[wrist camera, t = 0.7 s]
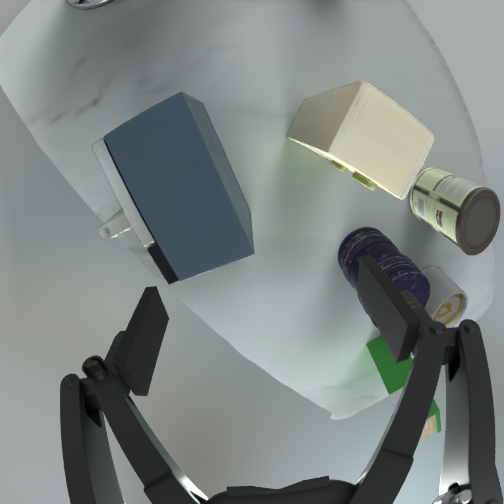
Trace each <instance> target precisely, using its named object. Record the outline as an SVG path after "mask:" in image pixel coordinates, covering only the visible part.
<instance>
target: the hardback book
mask: <svg viewBox="0 0 504 504" xmlns="http://www.w3.org/2000/svg"><path fill="white" fill-rule="evenodd" d="M367 346H368V349H369V351H370V353H371V355H372V357H373V359H374V362H375V364H376V366H377V368H378V371H379V373H380V375H381V377H382V380H383V382H384V384H385V386H386V389H387V391H388V393H389V396H390V398H391V400H392V403H393V405H394V408H396V405H397V403H398V400H399V398H400V395H401V393H402V390H403V387H404V385H405V382H406V379H407V376H408V374H409V371H410V366H411V364H412V361H413V359H412V357H411V356H409V359H407V360H404V361H401V362H398V363H396V361H395V359H394V358H393V356H392V354H391V352H390V350H389V348H388V346H387V344H386V342H385V340H384V339H383V337H382V335H381V336H379V337H378V338H376V339H374V340H373V341H371V342H369V343H368V344H367ZM436 430H437V432H440V431H441V423H440V411H439V408H438V406H437V405H436V403H435V400H434V398H433V401H432V404H431V408H430V411H429V414H428V417H427V420H426V423H425V426H424V429H423V431H422V434H421V437H420V439H422V438H424V437H426V436H428V435H429V434H431V433H433V432H434V431H436ZM420 439H419V440H420Z"/></svg>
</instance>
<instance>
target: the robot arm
mask: <svg viewBox="0 0 504 504" xmlns="http://www.w3.org/2000/svg"><path fill="white" fill-rule="evenodd" d="M112 1H113V0H67V2H68V3H69V4H70V5H72V6H74V7H76V8H79V9H93V8H97V7H100V6H103V5H105V4H108V3H110V2H112ZM357 292H358V294H359V296H360V297H361V299H362V301H363V303H364V304H365V306H366V308H367V310H368V311H369V313H370V315H371V317H372V318H373V320H374V322H375V324H376V326H377V327H378V329H379V331H380V333H381V335H382V337H383V339H384V340H385V342H386V344H387V346H388V348H389V350H390V352H391V354H392V356H393V358H394V359H395V361H396V363H398V362H401V361H404V360H407V359H409V356H410V353H411V352H412V354H413V356H414V359H413V361H412V364H411V366H410V371H409V374H408V376H407V379H406V382H405V385H404V387H403V390H402V393H401V395H400V398H399V400H398V403H397V405H396V408H395V410H394V412H393V415H392V417H391V420H390V421H389V424H388V426H387V428H386V430H385V432H384V434H383V437H382V438H381V440H380V442H379V444H378V446H377V448H376V450H375V452H374V454H373V456H372V457H371V459H370V461H369V463H368V465H367V467H366V468H365V470H364V471H363V473H362V474H361V476H360V478H359V479H358V480H357V482H356V484H355V485H353V484H351V483H349V482H346V481H341V480H329V476H324V477H320V478H314V479H309V480H303V481H301V482H298V483H295V484H293V485H290V486H287V487H284V488H282V489H269V488H262V487H254V486H240V487H239V486H238V487H227V491H224V492H221V493H218V494H216V495H214V496H212V497H210V498H209V499H208V498H207V497H206V496H205V495H204V494H203V493H202V492H201V491H200V490H199V489H197V488H196V487H195V486H194V484H193V483H192V482H191V481H190V480H189V479H188V478H187V477H186V475H185V474H184V473H183V472H182V470H181V469H180V468H179V467H178V465H177V464H176V463H175V461H174V460H173V459H172V458H171V456H170V455H169V454H168V452H167V451H166V450H165V448H164V447H163V446H162V444H161V443H160V441H159V440H158V439H157V437H156V436H155V434H154V433H153V431H152V430H151V428H150V427H149V426H148V424H147V422H146V421H145V419H144V418H143V416H142V415H141V413H140V412H139V410H138V408H137V407H136V405H135V403H134V402H133V400H132V398H131V397H130V396H129V393H130V389H131V390H132V392H133V393H134V394H135V395H138V396H147V395H148V391H149V387H150V383H151V379H152V375H153V372H154V368H155V365H156V361H157V358H158V354H159V350H160V347H161V343H162V340H163V337H164V333H165V330H166V327H167V324H168V320H169V317H168V315H167V312H166V310H165V307H164V305H163V303H162V300H161V297H160V295H159V292H158V290H157V287H156V286H154V287H146V288H145V290H144V293H143V295H142V297H141V299H140V301H139V303H138V305H137V307H136V309H135V311H134V313H133V316H132V318H131V320H130V322H129V324H128V327H127V329H126V331H120V332H119V333H118V334H117V336H115V338H114V341H113V343H112V345H111V347H110V350H109V352H108V354H107V356H106V358H105V360H104V361H103V359H102V358H101V357H100V356H92V357H89V358H88V359H86V360H85V362H84V363H83V365H82V371H83V372H84V373H85V374H86V376H87V378H82V379H80V378H79V377H78V376H77V375H76V374H69V375H67V376H65V377H64V378H63V380H62V381H61V386H60V422H61V440H62V452H63V460H64V469H65V476H66V482H67V488H68V493H69V498H70V503H71V504H125V501H124V498H123V495H122V492H121V489H120V486H119V483H118V479H117V475H116V472H115V468H114V464H113V460H112V456H111V451H110V447H109V442H108V437H107V432H106V427H105V421H104V415H103V412H104V414H105V417H106V419H107V421H108V423H109V425H110V427H111V429H112V431H113V433H114V435H115V437H116V439H117V441H118V443H119V444H120V446H121V448H122V450H123V452H124V453H125V455H126V457H127V459H128V460H129V462H130V464H131V465H132V467H133V469H134V470H135V472H136V473H137V475H138V477H139V478H140V480H141V481H142V483H143V484H144V492H145V493H146V495H147V497H148V498H149V500H150V501H151V503H152V504H393V502H394V500H395V498H396V496H397V495H398V493H399V491H400V489H401V487H402V485H403V483H404V481H405V479H406V477H407V475H408V472H409V470H410V468H411V466H412V463H413V455H414V452H415V449H416V447H417V445H418V442H419V439H420V437H421V434H422V431H423V429H424V426H425V423H426V420H427V417H428V414H429V411H430V408H431V404H432V401H433V397H434V394H435V390H436V386H437V382H438V378H439V374H440V370H441V365H445V374H446V430H445V445H444V455H443V463H442V471H441V479H440V496H438V497H437V498H436V499H435V500H434V502H433V503H432V504H503V497H502V492H501V487H500V482H499V478H498V474H497V470H496V466H495V418H494V407H493V396H492V388H491V380H490V374H489V368H488V362H487V357H486V352H485V348H484V344H483V339H482V335H481V331H480V328H479V325H478V324H477V323H476V322H474V321H473V320H469V319H466V320H463V321H461V323H460V324H459V327H453V328H446V326H445V325H444V324H443V323H441V322H439V321H433V319H432V318H431V317H430V315H429V314H428V313H427V311H426V310H425V309H424V308H423V306H421V304H420V302H419V301H418V300H417V299H416V297H415V296H414V295H413V294H412V293H410V292H408V291H407V290H405V291H401V292H399V290H398V289H397V288H396V286H395V285H394V284H393V283H392V281H391V280H390V279H389V278H388V276H387V275H386V274H385V273H384V271H383V270H382V269H381V268H380V266H379V265H378V264H377V263H376V261H375V260H374V259H373V258H372V257H371V255H366V256H360V257H359V273H358V287H357Z"/></svg>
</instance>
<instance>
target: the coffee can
mask: <svg viewBox="0 0 504 504" xmlns="http://www.w3.org/2000/svg"><path fill="white" fill-rule="evenodd" d="M410 205H411V209H412V211H413V213H414V214H415V216H416V217H417V218H419V219H420V220H422V221H424V222H425V223H427V224H428V225H430V226H431V227H433V228H434V229H435V230H437V231H438V232H440V233H441V234H442V235H444V236H445V237H446V238H448V239H449V240H450V241H452V242H453V243H454V244H456V245H457V246H458V247H460V248H461V250H462V251H463V252H464V253H466V254H467V255H477V254H479V253H481V252H482V251H484V250H485V249H486V248H487V247H488V245H489V244H490V243H491V241H492V240H493V238H494V236H495V234H496V231H497V228H498V225H499V221H500V204H499V200H498V197H497V195H496V194H495V192H494V191H492V190H491V189H488V188H485V187H482V186H480V185H478V184H475V183H473V182H471V181H468V180H466V179H463V178H461V177H458V176H456V175H453V174H451V173H448V172H445V171H442V170H440V169H438V168H435V167H429V168H426V169H424V170H422V171H421V172H420V173H419V174H418V175H417V177H416V178H415V180H414V182H413V184H412V186H411V190H410Z"/></svg>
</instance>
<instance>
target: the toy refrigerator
mask: <svg viewBox="0 0 504 504" xmlns="http://www.w3.org/2000/svg"><path fill="white" fill-rule="evenodd" d="M286 137H287V138H289V139H291V140H293V141H295V142H297V143H299V144H301V145H303V146H305V147H307V148H309V149H311V150H313V151H315V152H316V153H318V154H320V155H322V156H324V157H326V158H327V159H329V160H331V164H332V165H333V166H335V167H337V168H338V169H340V170H342V171H344V172H347V169H349V170H351V171H352V172H354V174H353V175H352V178H353V179H355V180H356V181H358V182H360V183H361V184H363V185H364V186H366V187H368V188H369V189H371V190H372V191H374V190H375V188H376V186H379V187H381V188H382V189H384V190H386V191H387V192H389V193H391V194H392V195H394V196H396V197H397V198H399V199H401V200H403V199H404V198H405V197H406V195H407V194H408V192H409V190H410V188H411V186H412V184H413V182H414V180H415V178H416V176H417V174H418V173H419V171H420V169H421V167H422V165H423V163H424V161H425V159H426V157H427V155H428V153H429V150H430V148H431V146H432V144H433V142H434V138H435V137H434V135H433V133H432V132H431V131H430V130H429V129H428V128H427V127H425V126H424V125H423V124H422V123H421V122H420V121H419V120H417V119H416V118H415V117H414V116H413V115H411V114H410V113H409V112H408V111H406V110H405V109H404V108H402V107H401V106H400V105H399V104H397V103H396V102H395V101H393V100H392V99H391V98H389V97H388V96H387V95H385V94H384V93H383V92H381V91H380V90H378V89H377V88H375V87H374V86H373V85H371V84H369V83H367V82H365V81H358V82H355V83H352V84H348V85H345V86H342V87H339V88H336V89H333V90H330V91H327V92H324V93H321V94H318V95H315V96H312V97H309V98H307V99H305V100H304V102H303V104H302V106H301V108H300V110H299V112H298V114H297V115H296V118H295V119H294V121H293V123H292V125H291V127H290V129H289V131H288V133H287V135H286Z"/></svg>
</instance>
